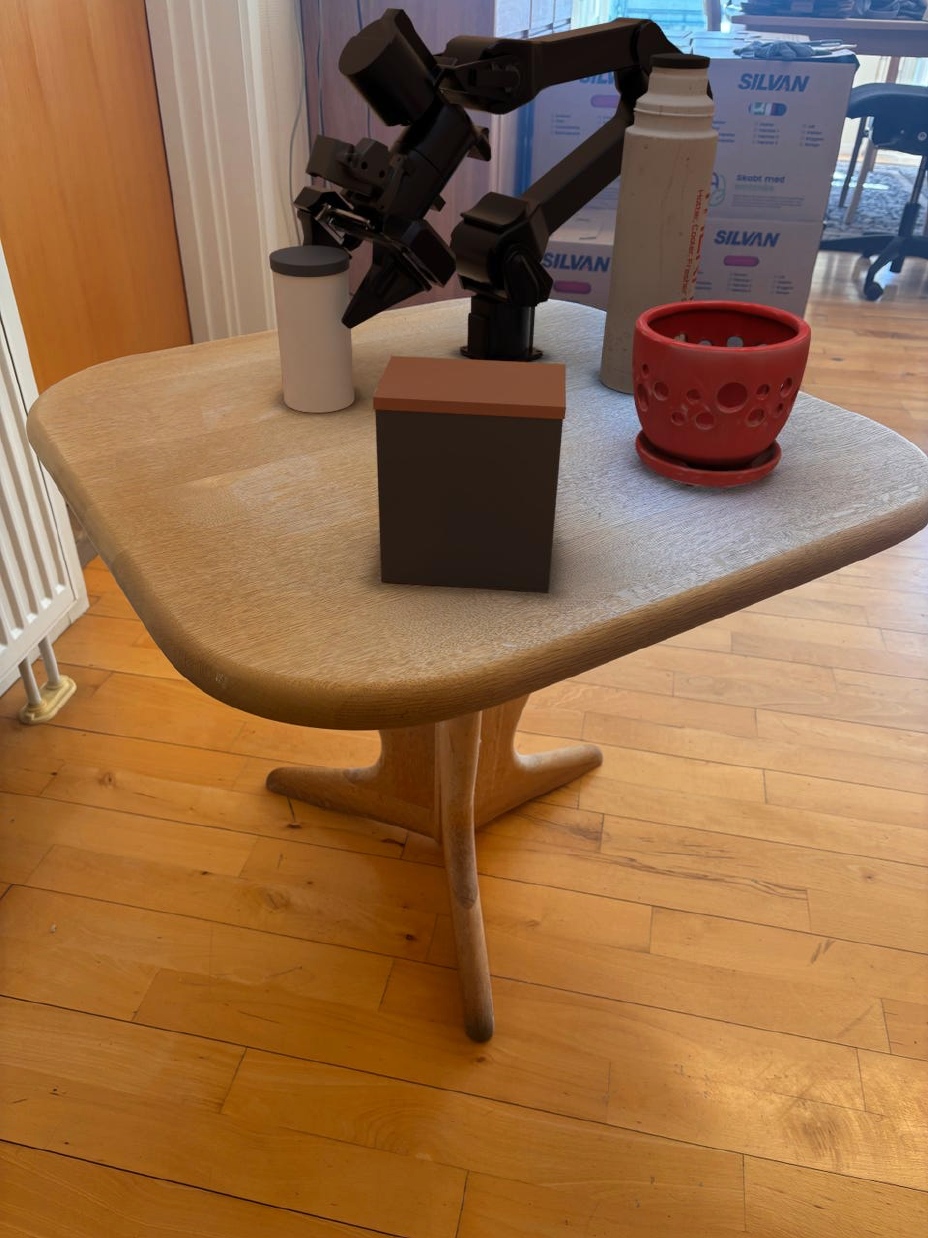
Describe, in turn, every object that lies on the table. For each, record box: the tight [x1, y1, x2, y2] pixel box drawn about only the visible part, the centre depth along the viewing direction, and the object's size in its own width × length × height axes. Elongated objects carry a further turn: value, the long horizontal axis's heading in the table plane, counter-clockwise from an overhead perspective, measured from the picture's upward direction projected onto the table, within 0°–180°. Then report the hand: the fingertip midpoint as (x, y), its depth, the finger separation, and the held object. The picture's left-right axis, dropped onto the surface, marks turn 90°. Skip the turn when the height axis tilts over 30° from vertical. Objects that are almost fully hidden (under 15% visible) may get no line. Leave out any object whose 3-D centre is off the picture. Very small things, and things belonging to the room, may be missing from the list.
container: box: [268, 245, 355, 414], centre depth 84 cm, size 7×7×13 cm
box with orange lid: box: [372, 355, 567, 593], centre depth 65 cm, size 18×11×13 cm, turn 175°
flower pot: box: [632, 299, 812, 488], centre depth 74 cm, size 13×13×12 cm
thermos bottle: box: [599, 52, 720, 395], centre depth 85 cm, size 8×8×28 cm
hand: (317, 312), depth 83 cm, fingers open, 9 cm apart
